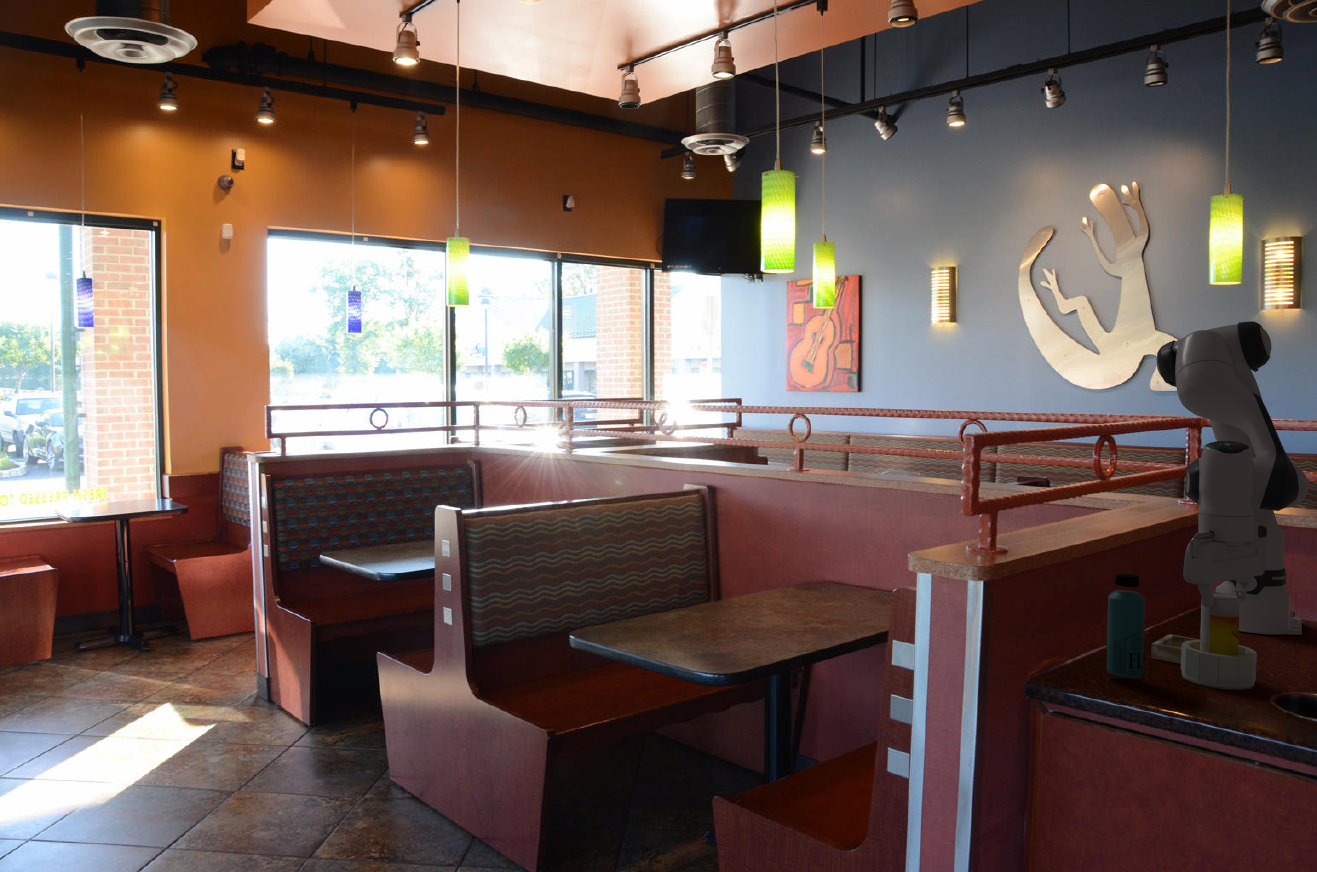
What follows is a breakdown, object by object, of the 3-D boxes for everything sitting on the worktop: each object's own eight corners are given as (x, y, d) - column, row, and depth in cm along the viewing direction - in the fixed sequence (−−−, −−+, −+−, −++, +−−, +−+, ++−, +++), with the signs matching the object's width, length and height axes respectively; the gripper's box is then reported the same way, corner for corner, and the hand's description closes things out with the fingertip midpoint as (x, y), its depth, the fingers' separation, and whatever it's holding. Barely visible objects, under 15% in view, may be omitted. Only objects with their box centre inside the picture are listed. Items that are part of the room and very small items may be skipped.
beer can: (1245, 679, 170) (1247, 598, 170) (1214, 680, 170) (1217, 599, 169) (1221, 669, 176) (1224, 591, 176) (1191, 670, 176) (1194, 592, 175)
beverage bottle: (1129, 687, 168) (1132, 578, 167) (1096, 677, 174) (1099, 572, 173) (1152, 682, 171) (1155, 575, 170) (1119, 673, 177) (1122, 569, 176)
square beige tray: (1169, 648, 195) (1169, 631, 195) (1228, 658, 187) (1229, 641, 187) (1151, 658, 187) (1151, 640, 187) (1212, 670, 180) (1213, 651, 179)
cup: (1192, 667, 181) (1193, 636, 181) (1261, 680, 173) (1262, 648, 173) (1173, 679, 173) (1174, 647, 173) (1244, 694, 165) (1246, 660, 165)
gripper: (1208, 536, 164) (1207, 613, 165) (1274, 527, 174) (1273, 600, 174) (1174, 531, 170) (1173, 606, 170) (1240, 523, 179) (1238, 594, 180)
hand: (1224, 603), depth 172 cm, fingers open, 8 cm apart
